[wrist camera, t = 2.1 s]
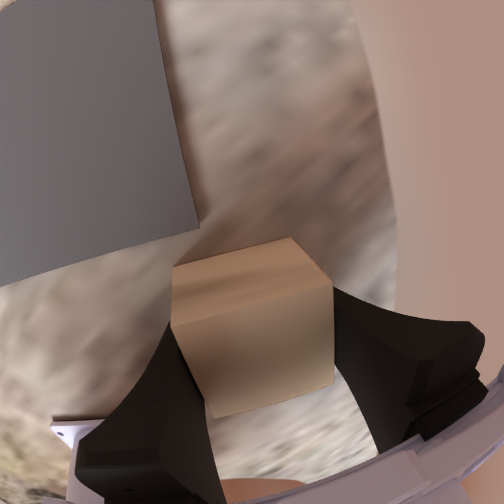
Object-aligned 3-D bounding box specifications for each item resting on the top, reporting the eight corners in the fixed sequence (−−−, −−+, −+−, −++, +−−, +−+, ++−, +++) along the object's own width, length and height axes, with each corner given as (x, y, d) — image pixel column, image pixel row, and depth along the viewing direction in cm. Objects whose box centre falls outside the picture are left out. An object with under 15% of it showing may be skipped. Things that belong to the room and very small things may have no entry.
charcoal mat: (199, 223, 11) (200, 228, 11) (-19, 290, 10) (-24, 295, 9) (147, -46, 6) (146, -52, 6) (-68, 73, 5) (-74, 73, 4)
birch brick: (301, 327, 15) (333, 383, 11) (204, 354, 14) (214, 419, 10) (290, 236, 12) (332, 282, 9) (172, 267, 12) (170, 326, 8)
